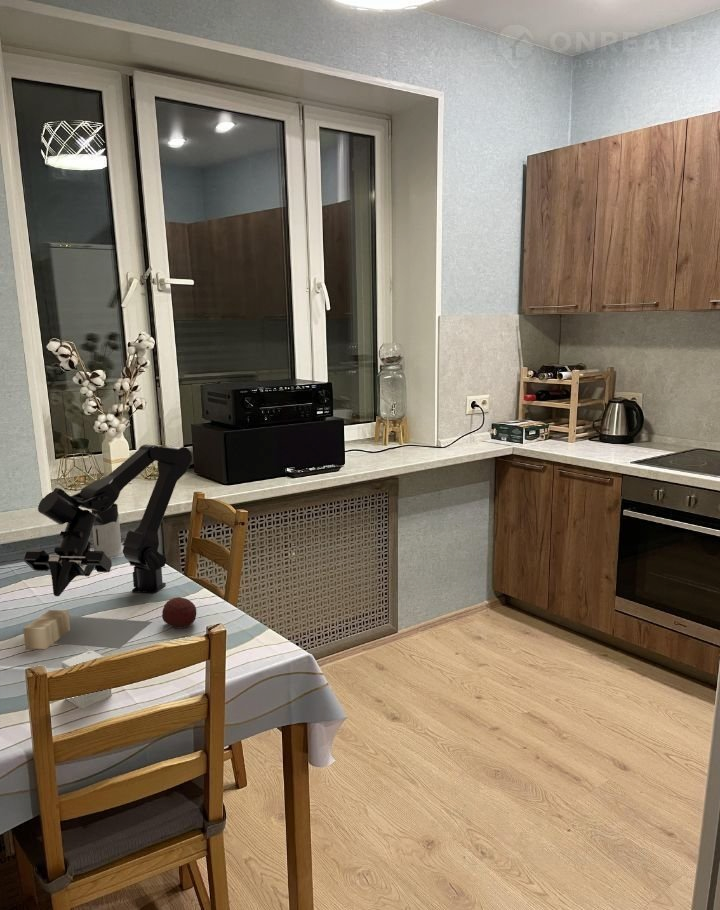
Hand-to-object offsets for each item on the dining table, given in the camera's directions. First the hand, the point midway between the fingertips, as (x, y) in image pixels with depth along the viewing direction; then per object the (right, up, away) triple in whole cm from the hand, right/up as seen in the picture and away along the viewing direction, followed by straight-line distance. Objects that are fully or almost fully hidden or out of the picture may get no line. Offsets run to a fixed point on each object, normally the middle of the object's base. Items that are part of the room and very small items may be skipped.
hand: (56, 595), depth 153 cm
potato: (+27, -8, +4) cm, 28 cm away
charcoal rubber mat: (+8, -8, +1) cm, 11 cm away
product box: (+18, -13, -27) cm, 35 cm away
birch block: (0, -6, +2) cm, 6 cm away
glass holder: (-12, 0, +58) cm, 60 cm away
